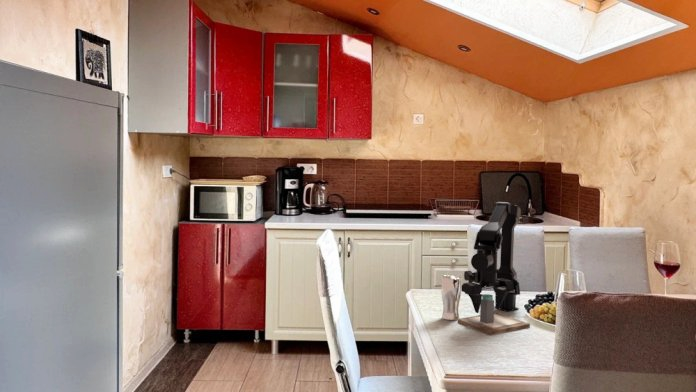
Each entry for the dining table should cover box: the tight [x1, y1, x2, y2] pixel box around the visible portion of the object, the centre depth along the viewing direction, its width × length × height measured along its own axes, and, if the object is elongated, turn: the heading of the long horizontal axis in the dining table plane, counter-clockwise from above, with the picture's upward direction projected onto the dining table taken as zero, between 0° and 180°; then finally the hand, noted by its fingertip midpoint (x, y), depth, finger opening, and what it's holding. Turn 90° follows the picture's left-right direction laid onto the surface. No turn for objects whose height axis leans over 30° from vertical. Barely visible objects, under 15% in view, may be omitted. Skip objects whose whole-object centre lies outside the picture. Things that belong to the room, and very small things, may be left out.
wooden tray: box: [457, 311, 531, 336], centre depth 198 cm, size 18×16×2 cm
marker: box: [479, 293, 495, 324], centre depth 196 cm, size 3×3×9 cm
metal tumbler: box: [441, 274, 462, 322], centre depth 205 cm, size 7×7×15 cm
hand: (487, 311), depth 196 cm, fingers open, 9 cm apart
